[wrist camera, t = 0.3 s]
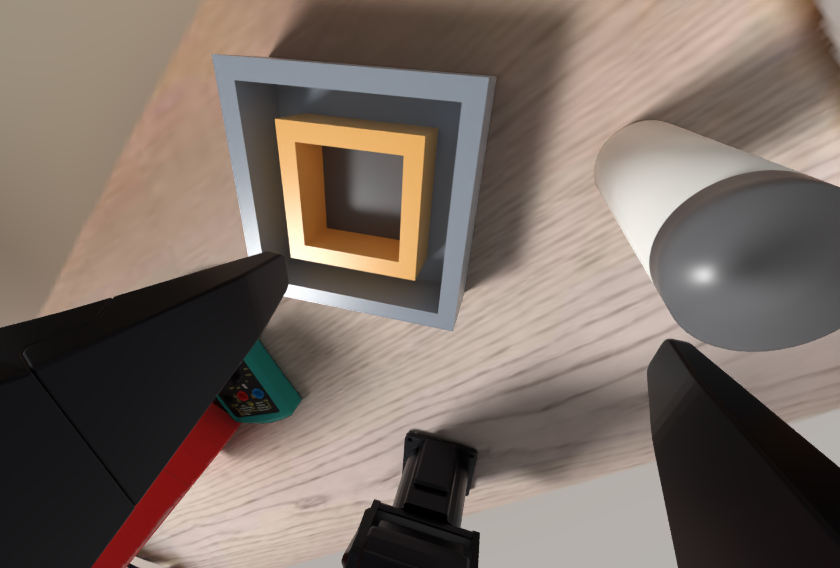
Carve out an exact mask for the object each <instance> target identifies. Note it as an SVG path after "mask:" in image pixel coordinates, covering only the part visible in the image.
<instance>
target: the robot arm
mask: <svg viewBox="0 0 840 568" xmlns="http://www.w3.org/2000/svg"><path fill="white" fill-rule="evenodd" d="M288 285H289V279H288V273H287V266H286V260H285V257H284V256H283V255H282V254H280V253H275V252H270V251H266V252H262V253H259V254H256V255H252V256H249V257H246V258H242V259H239V260H236V261H232V262H229V263H225V264H222V265H219V266H215V267H212V268H209V269H205V270H202V271H199V272H195V273H192V274H189V275H185V276H182V277H178V278H175V279H172V280H168V281H165V282H162V283H158V284H155V285H152V286H148V287H145V288H142V289H138V290H135V291H131V292H128V293H125V294H121V295H118V296H115V297H114V298H113V299H112V298H108V299H104V300H101V301H98V302H94V303H91V304H87V305H84V306H80V307H77V308H73V309H70V310H66V311H63V312H59V313H55V314H52V315H48V316H44V317H40V318H36V319H32V320H29V321H25V322H21V323H17V324H13V325H9V326H5V327H1V328H0V568H92V566H93V565H94V563H95V562H96V561H97V559H98V558H99V557H100V555H101V554H102V553H103V551H104V550H105V548H106V547H107V546H108V544H109V543H110V542H111V540H112V539H113V538H114V536H115V535H116V533H117V532H118V531H119V529H120V528H121V527H122V525H123V524H124V522H125V521H126V520H127V518H128V517H129V516H130V514H131V513H132V512H133V510H134V509H135V505H137V504H138V503H139V502H140V500H141V499H142V497H143V496H144V495H145V493H146V492H147V491H148V489H149V488H150V487H151V485H152V484H153V482H154V481H155V480H156V478H157V477H158V476H159V474H160V473H161V472H162V470H163V469H164V467H165V466H166V465H167V463H168V462H169V461H170V459H171V458H172V456H173V455H174V454H175V452H176V451H177V450H178V448H179V447H180V446H181V444H182V443H183V441H184V440H185V439H186V437H187V436H188V435H189V433H190V432H191V431H192V429H193V428H194V426H195V425H196V424H197V422H198V421H199V420H200V418H201V417H202V415H203V414H204V413H205V411H206V410H207V409H208V407H209V406H210V405H211V403H212V402H213V400H214V399H215V398H216V396H217V395H218V394H219V392H220V391H221V390H222V388H223V387H224V385H225V384H226V383H227V381H228V380H229V379H230V377H231V376H232V374H233V373H234V372H235V370H236V369H237V368H238V366H239V365H240V364H241V362H242V361H243V359H244V358H245V357H246V355H247V354H248V353H249V351H250V350H251V349H252V347H253V346H254V344H255V343H256V342H257V340H258V339H259V337H260V336H261V334H262V332H263V331H264V329H265V328H266V326H267V324H268V322H269V321H270V319H271V317H272V315H273V314H274V312H275V310H276V308H277V307H278V305H279V303H280V301H281V300H282V298H283V296H284V294H285V293H286V291H287V288H288ZM647 382H648V395H649V409H650V422H651V433H652V440H653V446H654V451H655V456H656V461H657V466H658V471H659V476H660V481H661V486H662V491H663V496H664V501H665V506H666V510H667V515H668V521H669V526H670V530H671V535H672V540H673V545H674V550H675V555H676V560H677V565H678V568H840V467H838V466H837V465H836V464H835V463H833V462H832V461H831V460H830V459H829V458H828V457H826V456H825V455H824V454H823V453H822V452H820V451H819V450H818V449H817V448H815V447H814V446H813V445H812V444H811V443H809V442H808V441H807V440H806V439H805V438H803V437H802V436H801V435H800V434H799V433H797V432H796V431H795V430H794V429H792V428H791V427H790V426H789V425H788V424H787V423H785V422H784V421H783V420H782V419H781V418H779V417H778V416H777V415H776V414H775V413H773V412H772V411H771V410H770V409H769V408H767V407H766V406H765V405H764V404H763V403H761V402H760V401H759V400H758V399H757V398H755V397H754V396H753V395H752V394H750V393H749V392H748V391H747V390H746V389H744V388H743V387H742V386H741V385H740V384H738V383H737V382H736V381H735V380H734V379H732V378H731V377H730V376H729V375H728V374H726V373H725V372H724V371H723V370H722V369H720V368H719V367H718V366H717V365H716V364H714V363H713V362H712V361H711V360H710V359H708V358H707V357H706V356H705V355H704V354H702V353H701V352H700V351H699V350H698V349H696V348H695V347H694V346H693V345H692V344H690V343H688V342H684V341H680V340H675V339H666V340H665V341H664V342H663V343H662V345H661V346H660V348H659V349H658V351H657V352H656V354H655V356H654V357H653V359H652V360H651V362H650V364H649V366H648V370H647ZM477 454H478V452H477V451H476V450H475V449H473V448H469V447H465V446H461V445H457V444H454V443H450V442H446V441H442V440H438V439H434V438H431V437H427V436H423V435H419V434H415V433H411V432H409V433H407V434H406V437H405V445H404V458H403V472H402V478H401V481H400V484H399V487H398V490H397V494H396V497H395V500H394V503H393V506H390V505H387V504H384V503H381V501H379V500H376V499H374V501H373V503H372V506H371V508H368V509H366V510H365V512H364V515H363V518H362V521H361V523H360V526H359V528H358V530H357V532H356V534H355V536H354V537H353V539H352V541H351V543H350V544H349V546H348V548H347V549H346V551H345V553H344V555H343V558H342V565H343V568H478V558H479V538H480V533H479V532H476V531H473V532H472V531H468V530H465V529H462V528H460V527H461V521H462V514H463V507H464V501H465V496H467V495H468V494H469V490H470V486H471V482H472V477H473V473H474V469H475V464H476V460H477Z"/></svg>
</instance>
